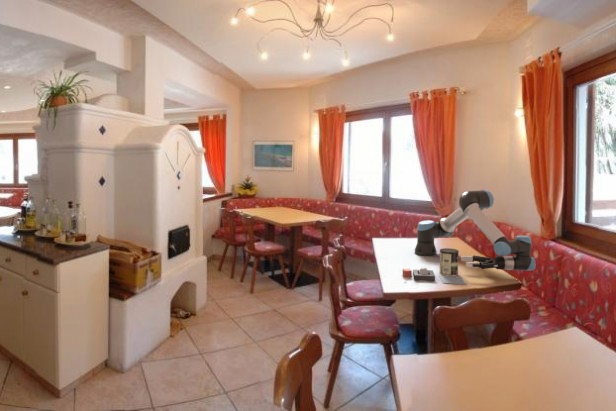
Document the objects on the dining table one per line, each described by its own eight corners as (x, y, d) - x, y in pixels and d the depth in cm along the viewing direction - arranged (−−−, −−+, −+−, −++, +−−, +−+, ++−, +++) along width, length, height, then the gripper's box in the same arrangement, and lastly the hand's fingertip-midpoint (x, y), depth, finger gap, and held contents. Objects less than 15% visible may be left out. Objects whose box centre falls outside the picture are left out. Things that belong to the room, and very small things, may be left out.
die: (402, 275, 207) (402, 268, 206) (409, 275, 207) (409, 268, 206) (404, 277, 203) (404, 270, 202) (411, 277, 203) (411, 270, 202)
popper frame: (412, 274, 208) (412, 269, 208) (432, 275, 206) (432, 270, 205) (414, 280, 197) (414, 275, 197) (435, 281, 195) (435, 276, 195)
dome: (418, 273, 204) (418, 266, 204) (427, 274, 203) (428, 266, 203) (419, 276, 199) (419, 268, 199) (428, 277, 198) (429, 269, 198)
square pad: (439, 276, 203) (439, 275, 203) (461, 277, 201) (461, 276, 201) (442, 283, 192) (442, 282, 192) (466, 284, 189) (466, 283, 189)
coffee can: (456, 271, 212) (456, 248, 211) (459, 276, 202) (460, 252, 201) (437, 270, 214) (438, 247, 213) (440, 275, 204) (441, 252, 203)
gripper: (510, 276, 189) (468, 274, 194) (496, 263, 213) (458, 262, 218) (511, 262, 188) (468, 260, 193) (496, 251, 213) (459, 250, 217)
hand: (463, 261), depth 205 cm, fingers open, 13 cm apart
